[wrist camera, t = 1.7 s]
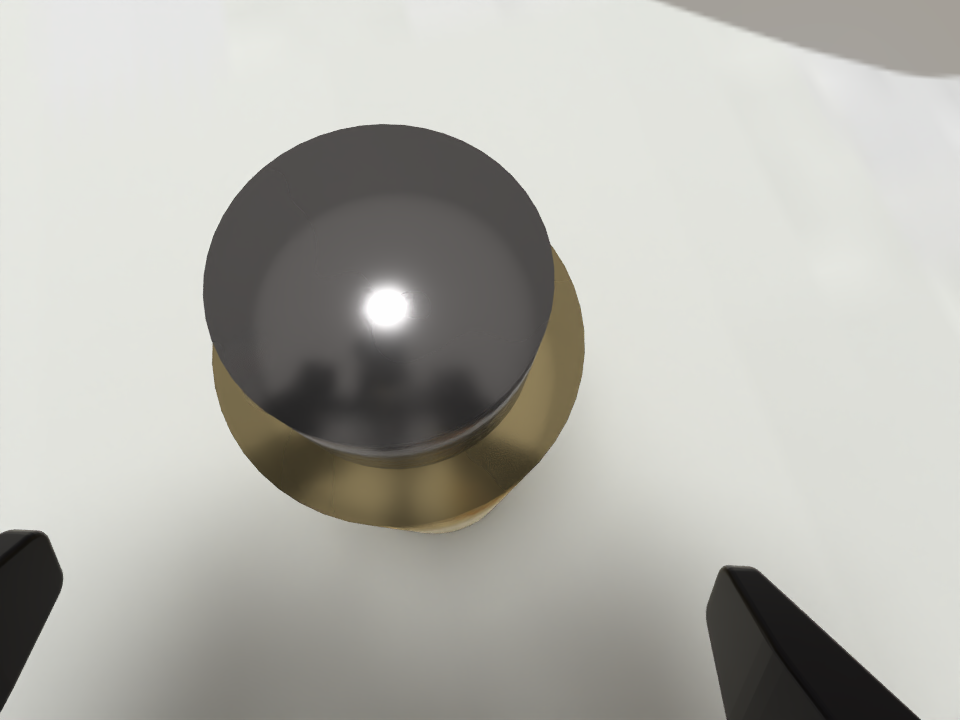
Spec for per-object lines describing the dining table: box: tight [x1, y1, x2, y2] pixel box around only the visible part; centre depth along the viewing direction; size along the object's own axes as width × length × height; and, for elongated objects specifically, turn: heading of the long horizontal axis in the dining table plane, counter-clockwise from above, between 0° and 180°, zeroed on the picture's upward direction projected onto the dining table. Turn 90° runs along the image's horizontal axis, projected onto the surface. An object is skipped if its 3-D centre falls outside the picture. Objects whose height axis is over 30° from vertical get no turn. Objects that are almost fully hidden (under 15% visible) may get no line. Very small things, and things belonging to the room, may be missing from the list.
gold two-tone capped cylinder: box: [203, 124, 585, 534], centre depth 12 cm, size 5×5×13 cm
